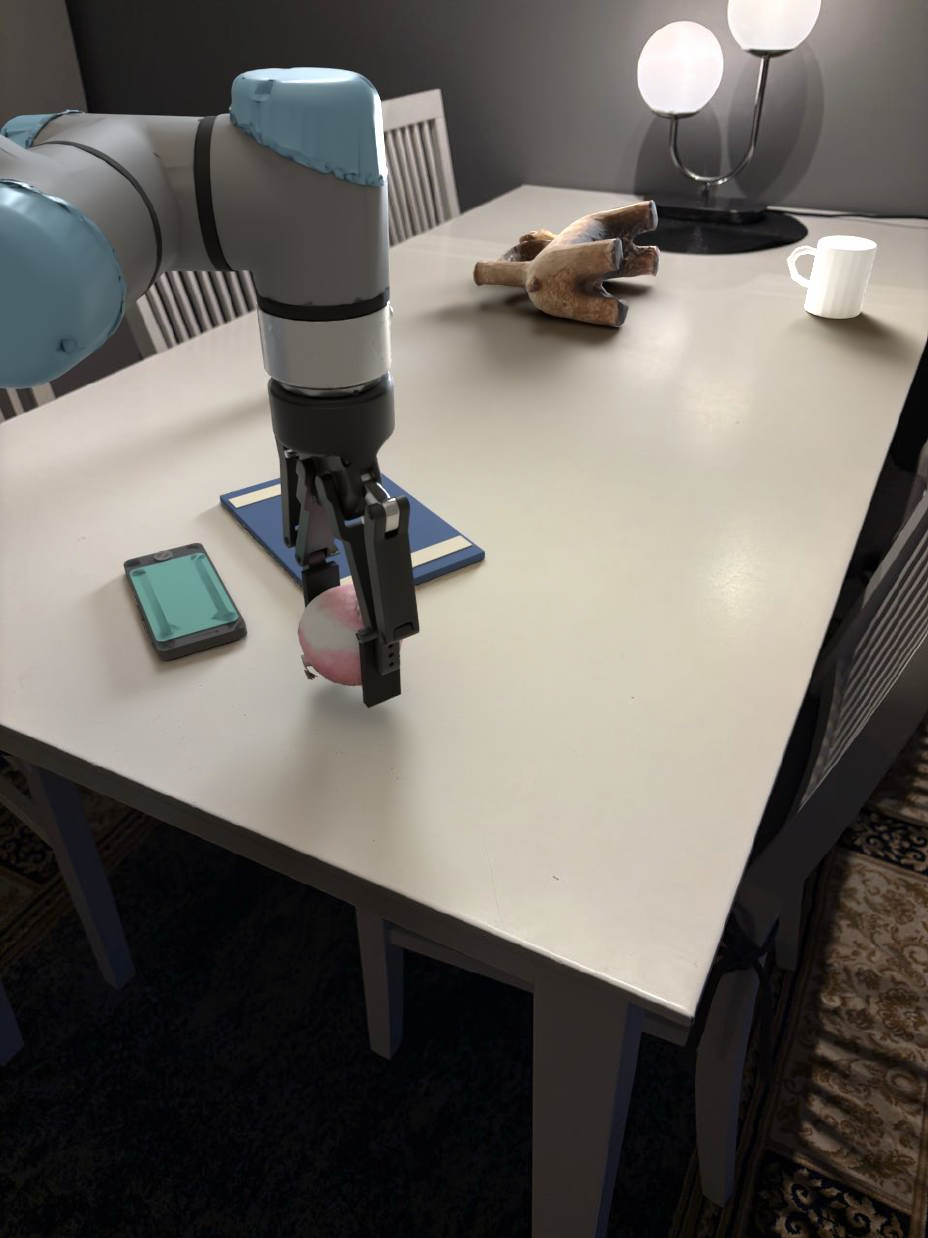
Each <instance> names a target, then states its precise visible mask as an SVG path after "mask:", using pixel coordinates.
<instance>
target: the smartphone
mask: <svg viewBox="0 0 928 1238" xmlns="http://www.w3.org/2000/svg"><path fill="white" fill-rule="evenodd" d="M122 566H123V569H124V572H125V575H126V578H127V580H128V583H129V585H130V588H131V590H132V593H133V595H134V598H135V600H136V608H137V611H138V614H139V616H140V619H141V621H142V622H143V626H144V629H145V631H146V634H147V636H148V639H149V642H150V644H151V646H153V647H154V648H155V650H156V653H157V655H158V658H159V659H160V660H162V661H170V660H173V659H177V658H179V657H180V658H181V657H183V656H186V655H190V654H193V653H196V652H200V651H204V650H206V649H210V648H213V647H217V646H220V645H224V644H227V643H230V642H233V641H237V640H240V639H241V640H242V639H243V638H245V637H246V636H247V635H248V628H247V624H246V621H245V619H244V618H243V615H242V614H241V612H240V611H239V609H238V607H237V605H236V603H235V601H234V599H233V598H232V596H231V594H230V592H229V590H228V588H227V587H226V585H225V583H224V581H223V579H222V578H221V576H220V574H219V572H218V571H217V568H216V567H215V566H214V563H213V561H212V559H211V558H210V556H209V554H208V552H207V550H206V548H205V547H204V545H203V543H201V542H192V543H189V544H186V545H181V546H177V547H174V548H170V549H164V550H159V551H157V552H153V553H150V554H146V555H142V556H137V557H133V558H129V559H126V560H125V561H124V562H123V563H122Z"/></svg>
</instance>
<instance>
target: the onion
mask: <svg viewBox="0 0 928 1238" xmlns="http://www.w3.org/2000/svg"><path fill="white" fill-rule="evenodd" d="M362 628H365V627H364V623H363V619H362V616H361V612H360V608H359V604H358V600H357V596H356V593H355V589H354V585H353V583H352V584H345V585H341V586H338V587H334V588H331V589H329V590H327V591H325V592H323V593H321V594H320V595H319V596H317V597H315V598H314V599H313V600H312V601H311V602H310V603H309V604H308V606H307V607H306V609H304V610H303V611H302V614H301V617H300V618H299V621H298V625H297V636H298V641H299V645H300V648H301V651H302V653H303V654H301V655H300V659H301V661H302V665H303V667H304V673H305V676H306V679H307V680H310V681H314V680H315V678H319V676H317V675H316V674H314V673H313V672H311V671H310V670H309V667H311V668H313V669H314V670H315V671H316V672H317V673H318V674H319V675H320V676H322V677H323V678H324V679H325V680H328V681H330V682H332V683H333V684H339V685H342V686H348V687H360V686H361V687H362V679H361V665H360V652H359V641H358V639H357V637H356V633H358V630H359V629H362ZM402 644H403V640H400V650H401V649H402Z"/></svg>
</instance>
